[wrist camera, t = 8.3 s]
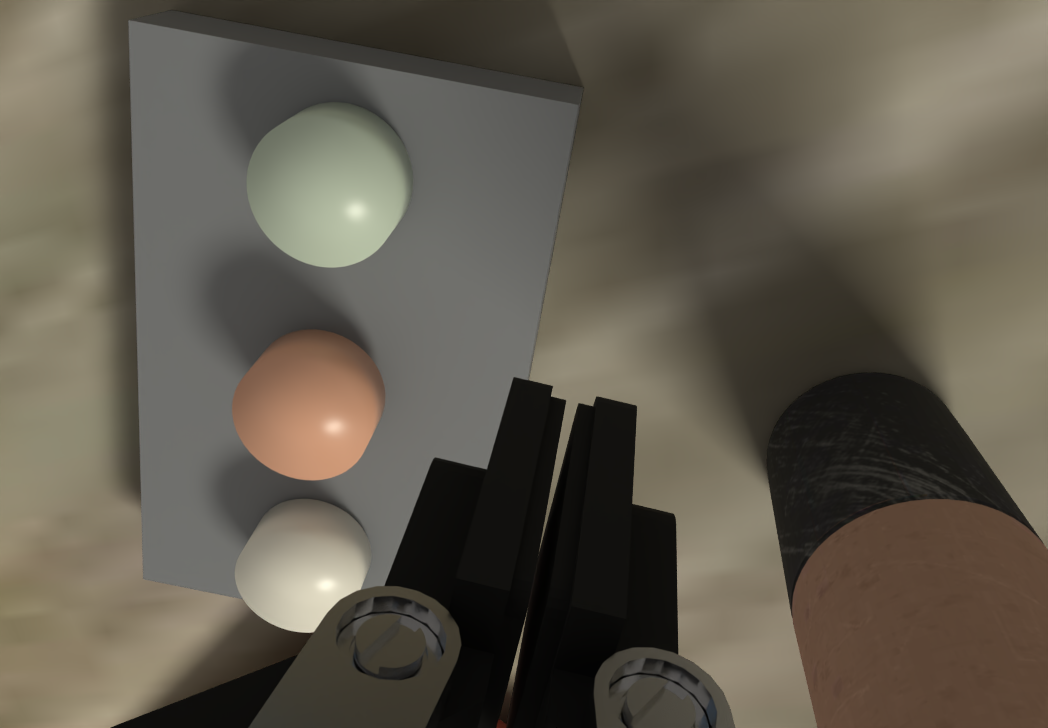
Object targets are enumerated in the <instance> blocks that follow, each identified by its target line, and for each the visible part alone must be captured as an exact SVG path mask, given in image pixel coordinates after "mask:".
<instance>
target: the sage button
mask: <svg viewBox="0 0 1048 728" xmlns="http://www.w3.org/2000/svg"><path fill="white" fill-rule="evenodd" d="M246 181H247V194H248V200H249V203H250V207H251V210H252V212H253V215H254V217H255V219H256V221H257V223H258V224H259V226H260V228H261V229H262V231H263V232H264V233H265V235H266V236H267V237H268V238H269V239H270V240H271V241H272V242H273V243H274V244H275V245H276V246H277V247H278V248H279V249H281V250H282V251H283V252H285V253H286V254H288V255H289V256H291V257H293V258H295V259H297V260H299V261H302V262H304V263H307V264H310V265H314V266H319V267H331V268H336V267H344V266H349V265H352V264H355V263H358V262H360V261H363V260H364V259H366V258H368V257H369V256H371V255H372V254H373V253H375V252H376V251H377V250H378V249H379V248H380V247H381V246H382V245H383V244H384V242H385V241H386V240H387V238H388V237H389V235H390V234H391V233H392V231H393V230H394V229H395V227H396V226H397V225H398V223H399V222H400V220H401V219H402V217H403V216H404V215H405V213H406V211H407V209H408V207H409V203H410V200H411V197H412V191H413V170H412V166H411V161H410V158H409V155H408V153H407V150H406V148H405V146H404V144H403V142H402V141H401V139H400V138H399V136H398V135H397V134H396V132H395V131H394V130H393V129H392V128H391V127H390V126H389V125H388V124H387V123H386V122H385V121H384V120H383V119H381V118H380V117H378V116H377V115H376V114H374V113H372V112H370V111H369V110H367V109H364V108H362V107H359V106H357V105H353V104H349V103H342V102H327V103H320V104H317V105H313V106H310V107H308V108H306V109H304V110H302V111H300V112H299V113H297V114H296V115H294V116H293V117H291V118H289V119H288V120H286V121H285V122H283V123H281V124H280V125H278V126H277V127H275V128H274V129H272V130H271V131H270V132H269V133H268V134H266V135H265V136H264V137H263V139H262V140H261V141H260V142H259V144H258V145H257V147H256V148H255V150H254V152H253V154H252V157H251V159H250V162H249V166H248V170H247V180H246Z"/></svg>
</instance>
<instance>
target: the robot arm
mask: <svg viewBox="0 0 1048 728" xmlns="http://www.w3.org/2000/svg"><path fill="white" fill-rule="evenodd" d="M552 388H553V386H551V385H546V384H542V383H538V382H533V381H529V380H525V379H521V378H516V377H513V380H512V384H511V387H510V391H509V394H508V398H507V401H506V405H505V408H504V412H503V415H502V418H501V422H500V425H499V429H498V432H497V436H496V439H495V443H494V446H493V450H492V453H491V457H490V460H489V464H488V467H487V469H483V468H479V467H474V466H470V465H466V464H462V463H457V462H453V461H449V460H445V459H441V458H436V457H435V458H434V459H433V461H432V463H431V465H430V468H429V470H428V473H427V475H426V478H425V481H424V483H423V486H422V488H421V491H420V494H419V496H418V499H417V502H416V504H415V507H414V509H413V512H412V515H411V517H410V520H409V522H408V525H407V528H406V530H405V533H404V536H403V538H402V541H401V543H400V546H399V549H398V551H397V554H396V556H395V559H394V562H393V564H392V567H391V569H390V572H389V575H388V577H387V580H386V583H385V585H384V586H375V587H370V588H366V589H362V590H357V591H355V592H353V593H351V594H350V595H348V596H346V597H344V598H342V599H340V600H339V601H338V602H337V603H336V604H335V605H334V606H333V607H332V608H331V609H330V610H329V611H328V612H327V614H326V615H325V617H324V618H323V620H322V621H321V622H320V624H319V625H318V627H317V628H316V630H315V631H314V633H313V634H312V636H311V637H310V638H309V640H308V641H307V643H306V644H305V646H304V647H303V649H302V650H301V652H300V653H299V655H297V656H294V657H291V658H289V659H286V660H284V661H281V662H278V663H276V664H273V665H271V666H268V667H266V668H263V669H260V670H258V671H255V672H253V673H250V674H248V675H245V676H242V677H240V678H237V679H235V680H232V681H230V682H227V683H224V684H222V685H219V686H217V687H214V688H211V689H209V690H206V691H204V692H201V693H199V694H196V695H193V696H191V697H188V698H186V699H183V700H181V701H178V702H175V703H173V704H170V705H168V706H165V707H162V708H160V709H157V710H155V711H152V712H150V713H147V714H144V715H142V716H139V717H137V718H134V719H132V720H129V721H126V722H124V723H121V724H119V725H116V726H114V727H111V728H496V727H497V723H498V719H499V716H500V712H501V708H502V704H503V701H504V697H505V693H506V689H507V685H508V682H509V678H510V674H511V670H512V666H513V663H514V659H515V655H516V651H517V647H518V644H519V640H520V636H521V632H522V628H523V625H524V621H525V617H526V621H525V627H524V632H523V638H522V643H521V649H520V654H519V660H518V665H517V671H516V676H515V682H514V687H513V693H512V698H511V704H510V709H509V715H508V720H507V726H506V728H735V725H734V721H733V717H732V713H731V709H730V707H729V705H728V702H727V700H726V698H725V695H724V693H723V691H722V690H721V689H720V687H719V686H718V685H717V684H716V682H715V681H714V680H713V679H712V677H711V676H710V675H709V674H707V673H706V672H705V671H704V670H702V669H701V668H700V667H699V666H697V665H696V664H695V663H694V662H692V661H690V660H688V659H686V658H684V657H682V656H680V655H678V610H677V549H676V519H675V516H674V514H672V513H668V512H664V511H660V510H656V509H651V508H647V507H643V506H639V505H635V504H632V496H633V476H634V457H635V437H636V417H637V406H636V405H631V404H627V403H623V402H619V401H614V400H610V399H606V398H602V397H596V399H595V402H594V405H593V406H589V405H585V404H580V403H579V404H578V407H577V410H576V414H575V418H574V421H573V425H572V429H571V433H570V437H569V441H568V444H567V448H566V452H565V456H564V460H563V464H562V467H561V471H560V475H559V479H558V483H557V486H556V490H555V494H554V498H553V502H552V506H551V509H550V513H549V517H548V521H547V525H546V529H545V532H544V536H543V540H542V544H541V548H540V543H541V537H542V532H543V526H544V521H545V515H546V510H547V504H548V499H549V493H550V488H551V482H552V476H553V471H554V465H555V460H556V454H557V449H558V443H559V438H560V432H561V427H562V421H563V415H564V410H565V404H566V400H563V399H559V398H555V397H551V393H552ZM539 549H540V552H539ZM538 554H539V556H538ZM528 604H529V605H528ZM527 609H528V610H527ZM526 613H527V616H526Z"/></svg>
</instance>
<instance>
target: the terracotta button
mask: <svg viewBox="0 0 1048 728" xmlns="http://www.w3.org/2000/svg"><path fill="white" fill-rule="evenodd" d="M385 396H386V395H385V386H384V383H383V379H382V376H381V374H380V372H379V370H378V368H377V366H376V364H375V363H374V362H373V360H372V359H371V358H370V356H369V355H368V354H367V353H366V352H365V351H364V350H363V349H361V348H360V347H359V346H358V345H356V344H355V343H353V342H352V341H351V340H349V339H347V338H345V337H343V336H341V335H338V334H335V333H332V332H328V331H324V330H317V329H306V330H298V331H294V332H291V333H288V334H286V335H283V336H282V337H280V338H278V339H277V340H275V341H274V342H273V343H272V344H271V345H270V346H269V347H268V348H267V349H266V350H265V351H264V352H263V354H262V355H261V356H260V357H259V359H258V360H257V361H256V362H255V363H254V365H253V366H252V367H251V368H250V370H249V371H248V372H247V373H246V374H245V376H244V377H243V378H242V379H241V381H240V382H239V384H238V386H237V388H236V390H235V393H234V397H233V402H232V416H233V421H234V425H235V428H236V431H237V433H238V435H239V437H240V439H241V441H242V442H243V444H244V445H245V447H246V448H247V449H248V450H249V452H250V453H251V454H252V455H253V456H254V457H255V458H256V459H257V460H259V461H260V462H261V463H262V464H264V465H265V466H267V467H268V468H270V469H272V470H274V471H276V472H278V473H280V474H282V475H285V476H288V477H292V478H295V479H301V480H323V479H328V478H332V477H335V476H338V475H340V474H342V473H344V472H346V471H347V470H348V469H350V468H351V467H352V466H353V465H355V464H356V463H357V462H358V460H359V459H360V458H361V456H362V455H363V453H364V451H365V449H366V447H367V445H368V443H369V441H370V439H371V437H372V435H373V433H374V431H375V429H376V427H377V425H378V423H379V421H380V419H381V417H382V414H383V411H384V406H385Z"/></svg>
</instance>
